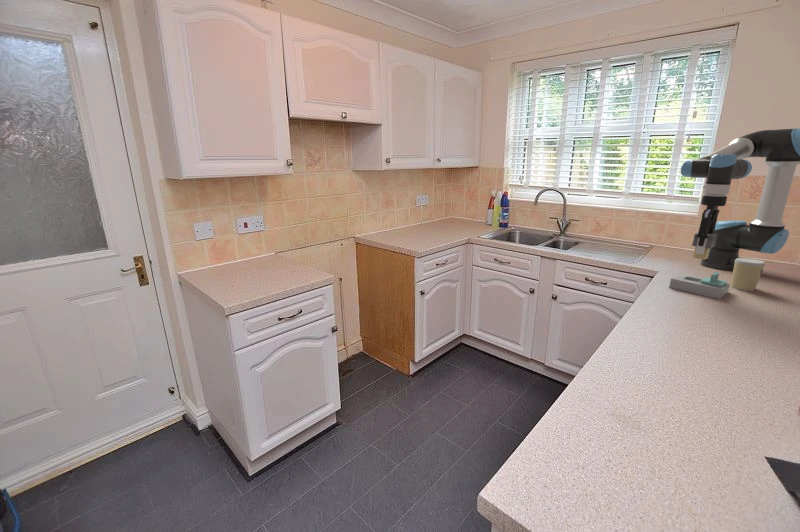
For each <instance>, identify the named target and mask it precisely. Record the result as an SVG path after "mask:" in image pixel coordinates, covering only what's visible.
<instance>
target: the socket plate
mask: <svg viewBox="0 0 800 532" xmlns="http://www.w3.org/2000/svg"><path fill="white" fill-rule="evenodd" d="M703 278H704V277H702V276H696V275H691V274H687V273H681V272H680V273H678V274H676V275H675V276H673V277H671V278H670V282H669V287H668V288H671V289H674V290H679V291H683V292H688V293H692V294H696V295H697V294H698V295H701V296H706V297H709V298H714V299H719V300H720V299H722V298H723V297H724V296H725V295H726V294H728V292H729V290H730V289H729V288H730V287H731V282H728V281H727V283H726V284H725V285H723V286H722V287H721V286H716V285H711V284H706V283H701V282H700V280H702V279H703Z"/></svg>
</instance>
